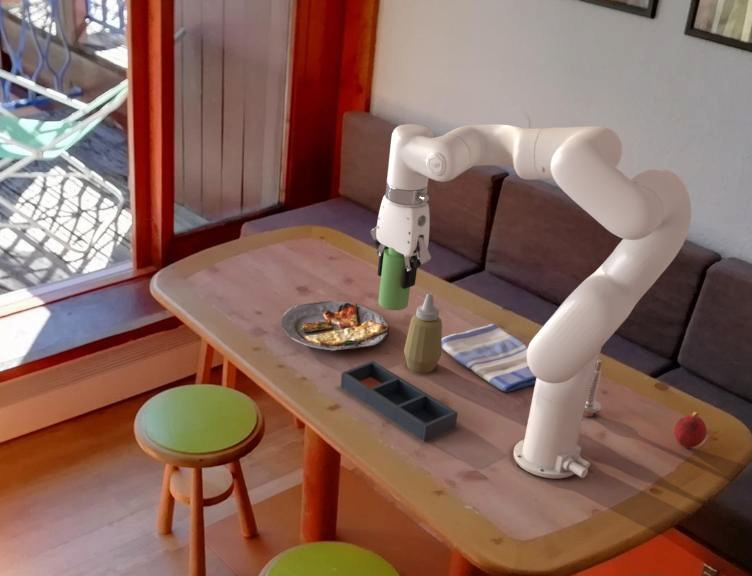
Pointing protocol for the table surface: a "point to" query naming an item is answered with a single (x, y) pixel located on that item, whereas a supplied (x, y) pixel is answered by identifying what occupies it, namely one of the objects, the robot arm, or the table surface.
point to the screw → (593, 392)
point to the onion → (690, 430)
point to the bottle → (393, 281)
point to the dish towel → (492, 356)
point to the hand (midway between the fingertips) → (396, 279)
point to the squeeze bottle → (424, 338)
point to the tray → (399, 400)
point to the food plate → (334, 325)
